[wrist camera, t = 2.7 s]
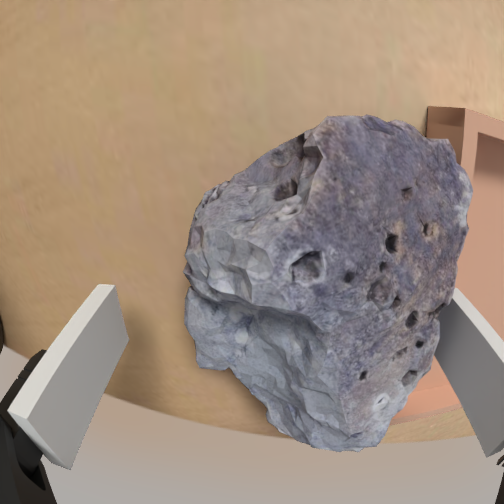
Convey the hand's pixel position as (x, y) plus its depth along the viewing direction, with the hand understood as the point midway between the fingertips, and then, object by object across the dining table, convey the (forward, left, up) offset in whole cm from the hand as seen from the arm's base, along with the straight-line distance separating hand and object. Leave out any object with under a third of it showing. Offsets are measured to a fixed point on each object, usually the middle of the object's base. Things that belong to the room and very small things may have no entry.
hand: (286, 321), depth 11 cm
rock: (+1, 0, -4) cm, 4 cm away
